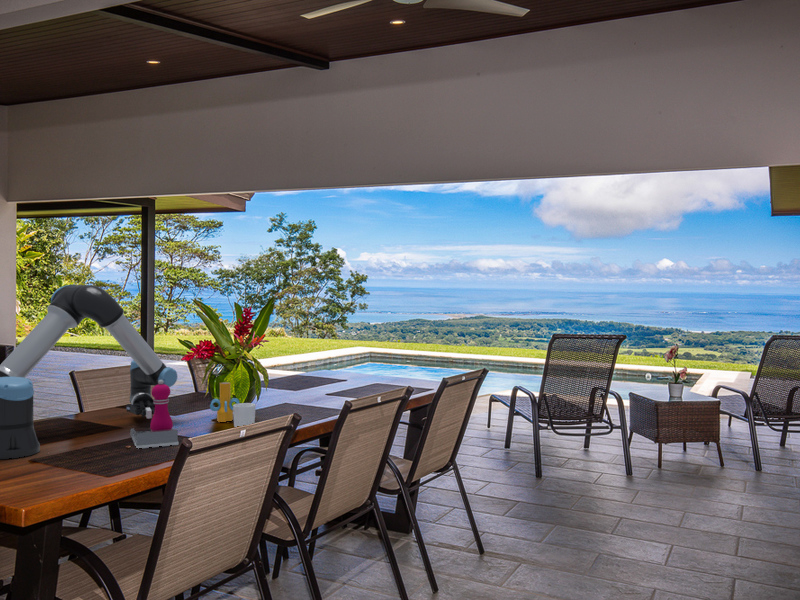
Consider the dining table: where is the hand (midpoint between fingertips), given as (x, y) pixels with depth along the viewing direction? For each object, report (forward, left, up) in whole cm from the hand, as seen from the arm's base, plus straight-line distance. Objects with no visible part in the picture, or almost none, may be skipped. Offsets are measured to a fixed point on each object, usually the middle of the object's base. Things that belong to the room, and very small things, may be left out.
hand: (149, 414), depth 232 cm
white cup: (+15, -29, -8) cm, 33 cm away
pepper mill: (-5, -8, -7) cm, 12 cm away
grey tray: (-4, -4, -8) cm, 10 cm away
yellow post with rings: (+31, -13, -8) cm, 34 cm away
